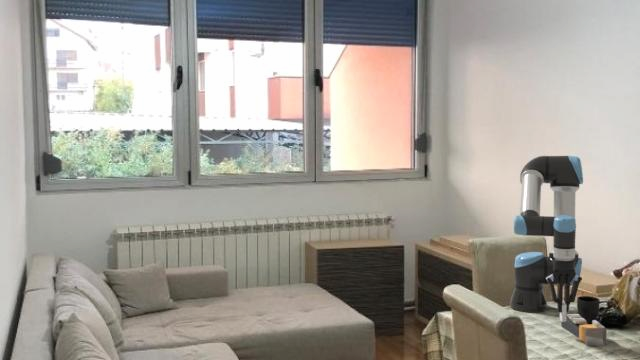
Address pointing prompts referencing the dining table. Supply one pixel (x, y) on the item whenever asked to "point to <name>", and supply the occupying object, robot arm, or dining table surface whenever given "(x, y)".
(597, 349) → the dining table surface
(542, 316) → the dining table surface
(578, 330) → the grey and orange bar
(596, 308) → the mug
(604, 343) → the rail
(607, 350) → the dining table surface
